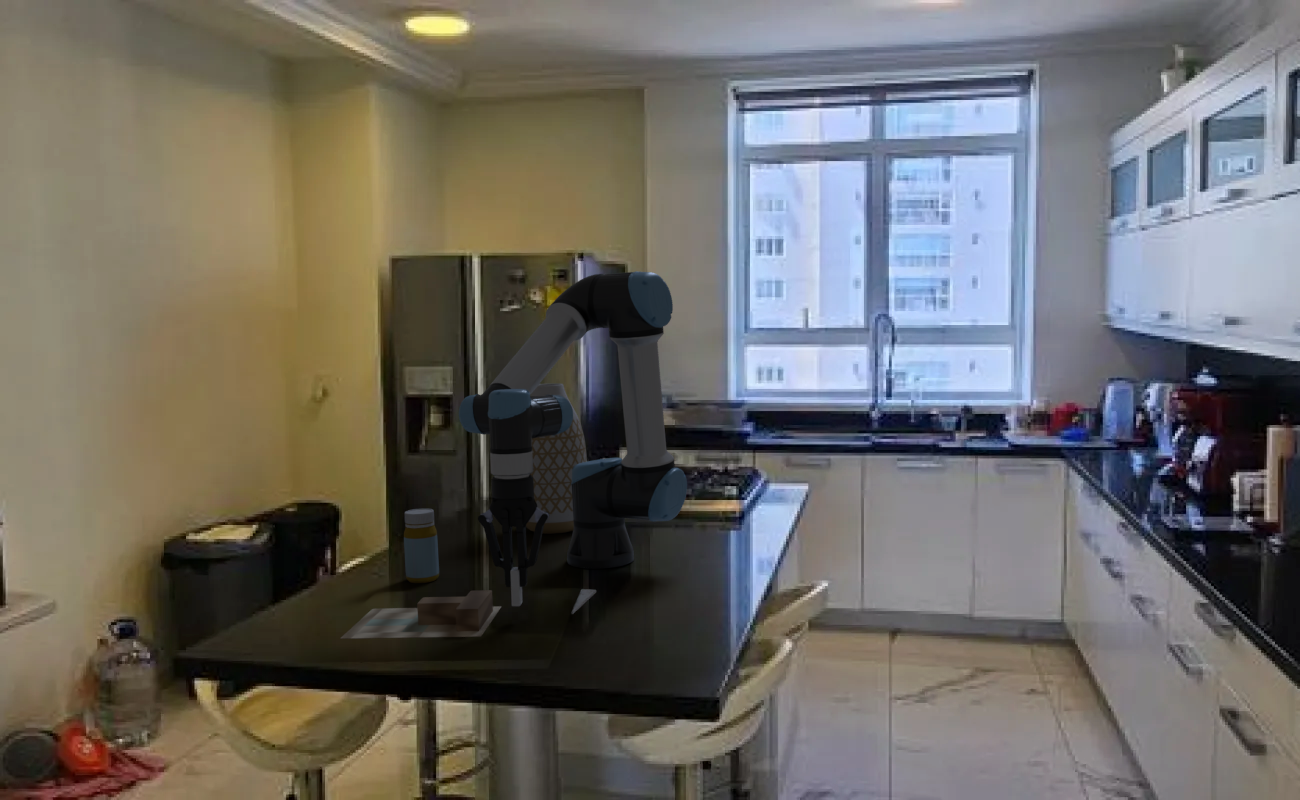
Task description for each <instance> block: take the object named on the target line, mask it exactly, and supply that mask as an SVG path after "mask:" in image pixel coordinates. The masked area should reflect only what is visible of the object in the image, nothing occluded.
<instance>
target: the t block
mask: <svg viewBox="0 0 1300 800" xmlns="http://www.w3.org/2000/svg"><path fill="white" fill-rule="evenodd" d="M493 603H494V602H493V590H492V589H491V590H489V589H488V590H485V589H483V590H482V589H481V590H470V591H469V592H468V593H467V595H466V596H430V597H429V596H426V597H425V596H424V597H422V598H421V599H420V600H419V601H418V602H417V603H416V604H417V605H416V608H417V609H418V625H456V626H457V631H479V630H480V629H481V628H482V626H483V625H484V623H485V622H486V620H487V619H488V618H489V616H490V615H491V613H492V612H493V607H494V604H493Z"/></svg>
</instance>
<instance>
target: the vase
mask: <svg viewBox="0 0 1300 800" xmlns="http://www.w3.org/2000/svg"><path fill="white" fill-rule="evenodd" d="M546 395H560V396H563V397H564V398H566V399H567V400H568V401H569V403H570V404H571V406H572V409H573V421H572V424H571V426H570V427H569V428H568V429H567V430H566V431H564V432H562V433H559V434H556V435H554V436H552V435H550V436H544V437H538V438H533V439H532V457H533V472H532V473H530V475H532V477H533V483H534V499H535V502H536V503H537V508H539V509H540V510H542V511H544V512H548V513H549V518H548V519H547V521H546V522H545V524H544V528H543V533H542V535H544V534H545V535H546V534H547V535H552V534H553V535H554V534H565V533H570V532H573V529H574V521H573V501H572V485H571V482H572V469H573V467H574V466H575V465H577V464H579V463H583V462H588V460H587V459H588V457H587V447H586V440H585V435H584V431H583V428H582V424H581V421H580V419H579V416H578V414H577V411H576V410H575V409H574V407H573V405H572V403H571V401H570V399H569V396H568V395H567V392H566V389H565V386H564V383H540V384H539V385H538V386H537V388H536V389H535V390H534V391H533V393H532V394H531V395H530V396H546ZM536 524H537V522H536V521H535V514H533V515H532V517H531V518H530V520H529V521H528V523H527V524H526V529H528V530H529V531H531V532H533V533H534V531H535V527H536Z"/></svg>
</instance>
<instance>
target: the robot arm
mask: <svg viewBox="0 0 1300 800" xmlns="http://www.w3.org/2000/svg"><path fill="white" fill-rule="evenodd" d="M672 298H673V297H672V294H671V291H670V288H669V287H668V285H667V283H666V281H664V279H663V278H662V277H661V276H660V275H659V274H657V273H656V272H655V273H654V272H653V271H652V272H651V271H629V272H617V273H596V274H592V275H589V276H586V277H584V278H581V279H580V280H578V281H577V282H575V283H573V284H572V285H570V286H569V287H568V288H566V289H565V290H564V291H563V292H562V293H561V294H560V295H558V296H557V297H556V298H555V300H554V301H552V303H551V304H550V305H549V306H548V307H547V309H546V310H545V319H544V320H543V321H542V322H541V323H540V325H539V326H538V327H537V328H536V329H535V330H534V332H533V333H532V334H531V335H530V337H528V338H527V340H526V341H525V342H524V344H523V345H521V347H520V349H519V350H518V351H517V352H516V354H514V356H512V358H511V359H510V360H509V361H508V363H507V364H506V365H505V367H503V369H501V371H500V372H499V373H498V374H497V376H496V377H495V378H494V380H493V381H492V382H491V383H490V385H489V386H488V387H486V389H485V390H484V391H483V393H481V394H479V393H475V394H471V395H468V396H466V397H464V399H463V400H462V401H461V402H460V405H459V409H458V419H459V422H460V424H461V426H462V428H463V429H464V430H465V431H466V432H468V433H473V434H480V435H489V445H490V449H489V455H490V456H489V457H490V458H489V459H490V460H489V461H490V474H491V475H493V477H492V478H491V480H490V484H491V503H490V504H489V509H488V510H486V511H485V512H482V513H480V514H479V515H478V516H477V521H478V522H479V523H480V525H481V526H482V527H483V530H484V533H485V534H484V535H485V537H486V541H487V545H488V548H489V552H490V554H491V559H492V562H493V565H494V566H495V567H498V568H502V569H503V571H504V585H505V587H506V588H510V591H511V592H510V594H511V607H520V606H521V605H522V603H523V600H524V599H523V588H524V587H526V586H527V585H528V568H530V567H533V566H534V565H536V563H537V561H538V557H539V551H540V549H541V548H540V547H541V543H542V538H543V534H542V533H543V528H544V524H545V522H546V521H547V519H548V518H549V513H548V512H544V511H542V510H540V509H539V508H537V503H536V502H535V499H534V483H533V477H532V475H530V473H532V472H533V457H532V439H533V438H538V437H544V436H550V435H552V436H554V435H556V434H559V433H562V432H564V431H566V430H567V429H568V428H569V427H570V426H571V424H572V421H573V409H572V407H573V405H572V403H571V402H570V403H571V404H570V403H569V401H570V400H569V401H568V400H567V399H566V398H564V397H563V396H560V395H546V396H531V395H532V393H533V391H534V390H535V389H536V388H537V386H538V385H539V384H542V381H544V379H545V378H546V377H547V375H548V374H549V372H550V371H551V370H552V369H553V367H555V365H556V364H557V363H558V361H559V360H560V359H561V357H562V356H563V355H564V353H566V352H567V349H568V348H569V347H570V346H571V345H572V343H573V342H574V341H579V340H581V339H582V338H583V337H585V335H586V334H587V332H589V331H591V330H596V329H608V335H609V339H610V340H611V341H612V342H614V343H615V344H616V346H617V352H618V353H617V354H618V355H617V356H618V365H619V377H620V387H621V388H620V389H621V400H622V409H623V411H622V412H623V421H624V432H625V443H626V455H625V456H623V457H609V458H600V459H595V460H589V461H588V460H587V462H583V463H579V464H577V465H575V466H574V467H573V469H572V482H571V485H572V501H573V521H574V529H573V531H572V534H571V537H570V540H569V541H570V542H569V545H568V547H567V553H566V556H567V557H566V560H567V561H566V562H567V564H568V565H570V566H571V567H574V568H581V569H595V570H597V569H611V568H617V567H623V566H626V565H628V564H630V563H633V562H634V561H635V555H634V554H635V552H634V547H633V545H632V542H631V540H630V537H629V534H628V530H627V528H626V522H625V521H626V519H632V520H642V521H650V522H668V521H672V520H673V519H674V518H676V517H677V516H678V514H680V511H682V509H683V505H684V504H685V500H686V497H687V491H688V490H687V489H688V482H687V481H688V480H687V475H686V474H685V472H684V470H682V468H679V467H675V466H676V465H675V457H674V456H673V455H672V454H671V453H670V452H669V451H668V450H667V442H666V441H667V440H666V431H665V418H664V407H663V394H662V382H661V371H660V359H659V345H658V342H659V340H660V339H661V337H663V335H664V334H665V333H664V331H665V330H664V327H666V326H667V325H668V324H669V323H670V322H671V319H672V314H673V310H674V309H673V307H674V305H673V299H672ZM571 405H572V406H571ZM533 514H535V521H536V522H537V524H536V527H535V531H534V532H533V537H532V541H531V542H532V543H531V547H530V551H529V557H528V553H527V552H528V551H527V527H526V524H527V523H528V521H529V520H530V518H531V517H532V515H533ZM494 518H495V519H496V520H497V522H498V523H499V525H501V533H502V544H503V545H502V546H503V547H502V549H503V550H502V551H501V548H500V544H499V540H498V537H497V534H496V530H495V527H494V524H493V521H494ZM513 527H515V530H516V540H517V541H516V543H517V544H516V545H517V564H518V565H517V566H514V564H515V563H514V554H513ZM502 552H503V554H502Z"/></svg>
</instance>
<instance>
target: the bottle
mask: <svg viewBox="0 0 1300 800" xmlns="http://www.w3.org/2000/svg"><path fill="white" fill-rule="evenodd" d="M404 523H405V524H404V525H405V528H404V531H403V546H404V547H403V549H404V563H405V564H404V565H405V578H406V580H407V581H408V582H409V583H412V584H426V583H432V582H434V581H436V580H438V578H439V576H440V566H439V565H440V564H439V545H438V530H437V528H436V526H435V512H434V509H432V508H413V509H409V510H406V511H404Z"/></svg>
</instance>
